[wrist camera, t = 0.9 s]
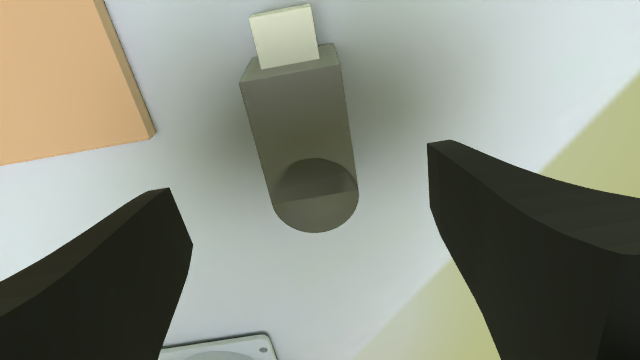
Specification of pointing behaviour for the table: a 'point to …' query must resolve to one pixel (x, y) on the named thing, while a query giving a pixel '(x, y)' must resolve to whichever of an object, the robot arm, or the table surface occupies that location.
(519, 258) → the robot arm
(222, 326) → the table surface
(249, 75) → the usb plug
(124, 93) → the coaster
